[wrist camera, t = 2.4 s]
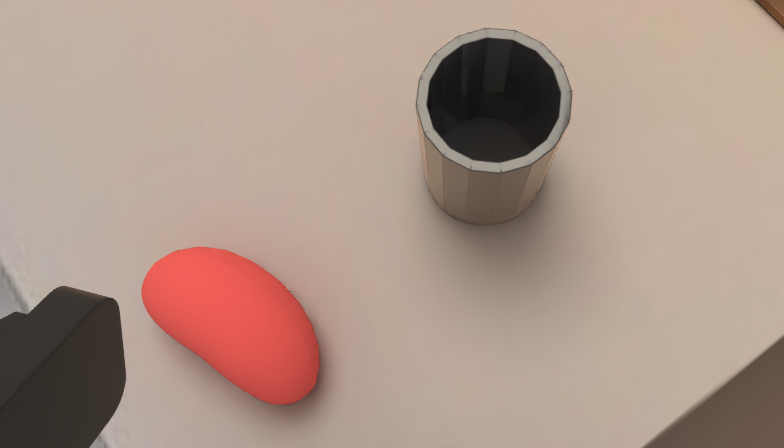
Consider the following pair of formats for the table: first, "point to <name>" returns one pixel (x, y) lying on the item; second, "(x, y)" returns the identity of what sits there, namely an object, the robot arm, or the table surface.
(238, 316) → the stress ball
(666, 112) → the table surface
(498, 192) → the open gray tube
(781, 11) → the plate
